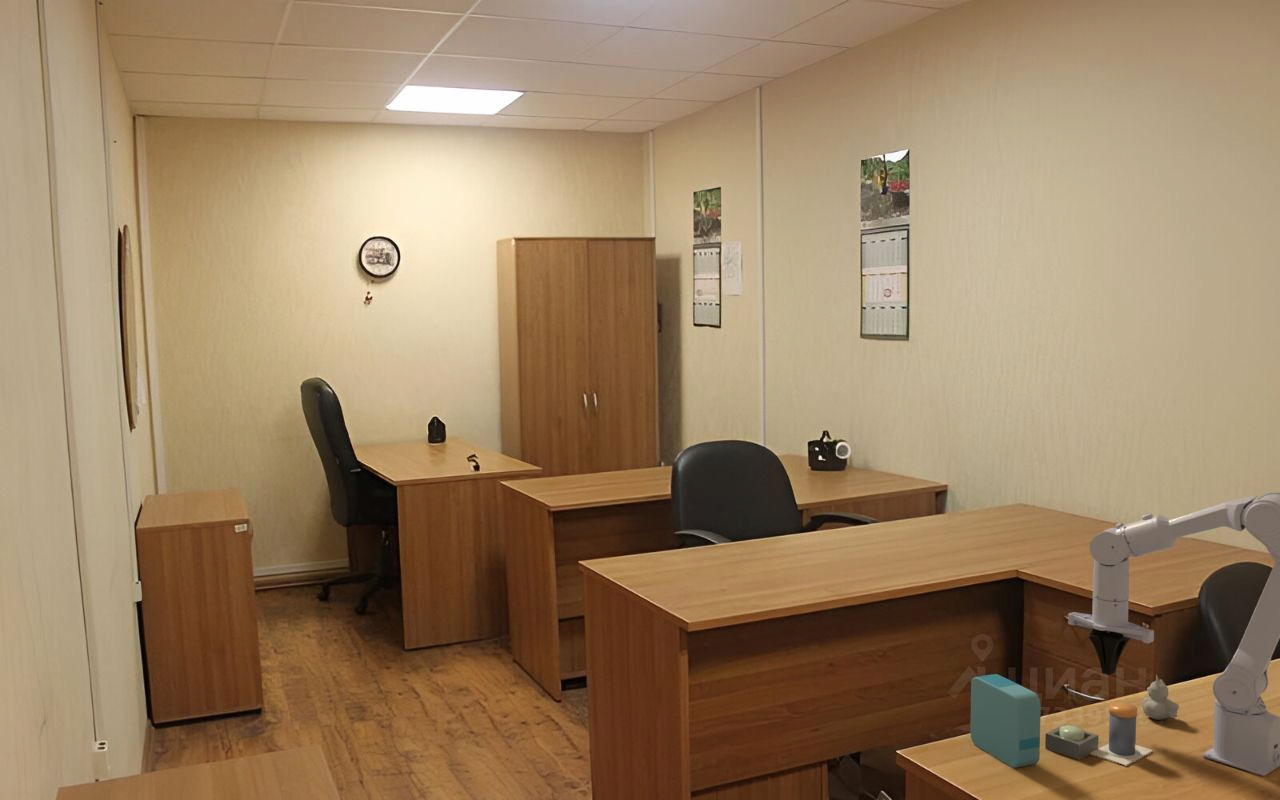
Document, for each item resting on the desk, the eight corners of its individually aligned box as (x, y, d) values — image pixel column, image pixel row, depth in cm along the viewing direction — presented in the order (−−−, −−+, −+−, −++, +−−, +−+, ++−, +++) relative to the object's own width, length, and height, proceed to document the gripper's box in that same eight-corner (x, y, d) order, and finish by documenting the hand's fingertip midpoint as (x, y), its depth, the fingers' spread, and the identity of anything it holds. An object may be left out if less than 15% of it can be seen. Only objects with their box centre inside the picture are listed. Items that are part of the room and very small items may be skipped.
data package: (1040, 767, 165) (1041, 695, 164) (1017, 771, 164) (1018, 698, 163) (991, 738, 177) (992, 671, 176) (969, 742, 175) (970, 674, 174)
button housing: (1098, 750, 171) (1098, 735, 171) (1079, 760, 168) (1079, 744, 167) (1064, 739, 176) (1064, 724, 176) (1045, 748, 172) (1045, 733, 172)
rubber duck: (1152, 710, 188) (1153, 668, 188) (1186, 722, 183) (1188, 679, 182) (1134, 716, 186) (1135, 673, 185) (1167, 728, 180) (1169, 684, 179)
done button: (1088, 747, 171) (1088, 730, 171) (1076, 753, 169) (1076, 736, 169) (1067, 740, 174) (1067, 723, 174) (1055, 746, 172) (1055, 729, 172)
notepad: (1152, 752, 170) (1153, 749, 170) (1125, 766, 165) (1125, 764, 165) (1117, 740, 175) (1117, 738, 175) (1090, 754, 170) (1090, 752, 170)
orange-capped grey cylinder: (1140, 751, 170) (1141, 707, 169) (1129, 758, 167) (1130, 713, 167) (1115, 743, 173) (1116, 700, 172) (1103, 750, 170) (1104, 706, 170)
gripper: (1059, 592, 182) (1057, 666, 183) (1140, 610, 171) (1138, 689, 172) (1080, 586, 187) (1078, 658, 188) (1160, 602, 175) (1158, 680, 176)
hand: (1108, 672), depth 180 cm, fingers closed
